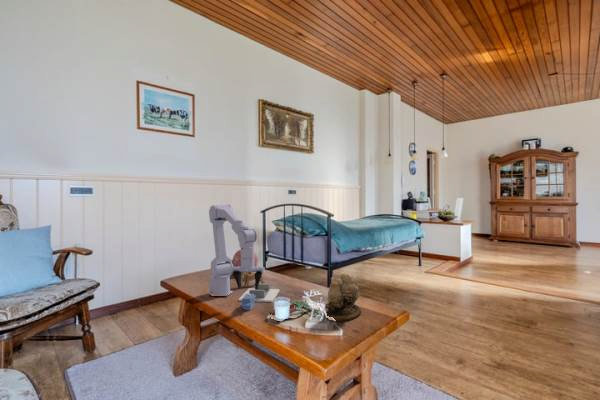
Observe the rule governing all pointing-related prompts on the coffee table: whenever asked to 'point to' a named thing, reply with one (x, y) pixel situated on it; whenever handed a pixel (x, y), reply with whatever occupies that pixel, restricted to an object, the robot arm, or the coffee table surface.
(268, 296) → the pocket plate
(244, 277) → the lion figurine
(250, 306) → the block
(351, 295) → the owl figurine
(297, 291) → the coffee table surface
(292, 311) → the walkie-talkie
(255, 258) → the balloon
